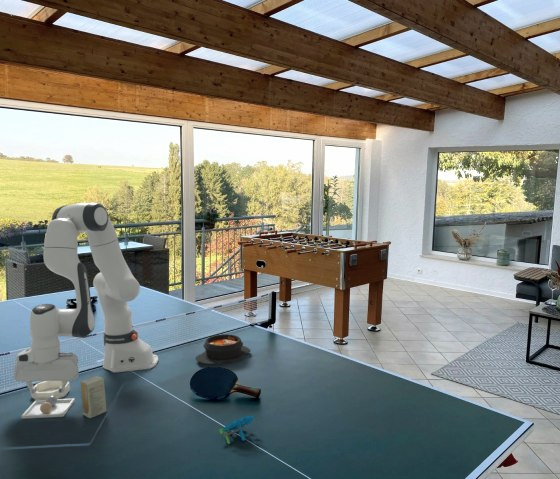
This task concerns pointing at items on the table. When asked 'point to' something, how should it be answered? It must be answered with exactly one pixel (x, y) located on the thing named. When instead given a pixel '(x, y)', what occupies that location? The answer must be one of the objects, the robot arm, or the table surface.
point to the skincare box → (93, 396)
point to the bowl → (49, 390)
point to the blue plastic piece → (236, 427)
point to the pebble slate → (52, 400)
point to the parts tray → (56, 410)
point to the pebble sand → (46, 407)
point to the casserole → (222, 349)
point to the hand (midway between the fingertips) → (47, 392)
